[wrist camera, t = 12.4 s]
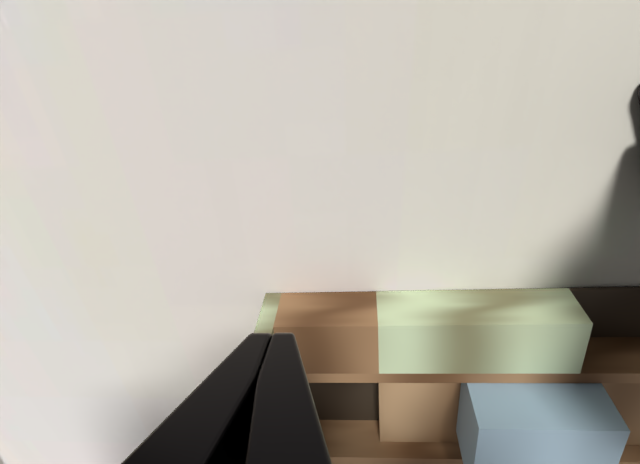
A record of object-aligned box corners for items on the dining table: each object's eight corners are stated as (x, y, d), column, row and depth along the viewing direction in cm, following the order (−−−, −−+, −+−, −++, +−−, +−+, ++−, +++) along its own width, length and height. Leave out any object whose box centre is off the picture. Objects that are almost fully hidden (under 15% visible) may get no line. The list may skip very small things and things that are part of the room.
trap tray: (940, 281, 20) (1062, 344, 17) (817, 463, 26) (889, 538, 23) (265, 293, 23) (249, 348, 20) (291, 454, 29) (282, 519, 26)
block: (592, 368, 22) (630, 431, 19) (574, 432, 24) (605, 498, 21) (462, 367, 22) (479, 428, 19) (456, 430, 25) (469, 494, 22)
